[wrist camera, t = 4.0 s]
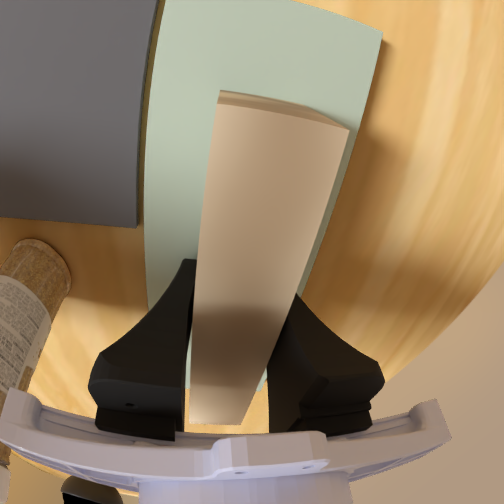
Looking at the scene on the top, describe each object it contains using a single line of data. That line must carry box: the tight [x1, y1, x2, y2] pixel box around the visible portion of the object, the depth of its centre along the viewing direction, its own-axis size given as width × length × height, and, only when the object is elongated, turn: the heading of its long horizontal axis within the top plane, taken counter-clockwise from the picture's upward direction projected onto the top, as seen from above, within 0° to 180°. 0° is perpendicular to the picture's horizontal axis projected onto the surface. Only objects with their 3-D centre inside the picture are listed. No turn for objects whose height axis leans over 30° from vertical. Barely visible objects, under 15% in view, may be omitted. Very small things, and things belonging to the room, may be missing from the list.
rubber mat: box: [0, 0, 159, 228], centre depth 8 cm, size 14×14×1 cm
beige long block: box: [189, 90, 350, 425], centre depth 12 cm, size 3×16×4 cm, turn 169°
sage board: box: [144, 0, 383, 391], centre depth 14 cm, size 8×24×1 cm, turn 169°
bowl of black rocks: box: [61, 475, 123, 504], centre depth 51 cm, size 20×20×19 cm
